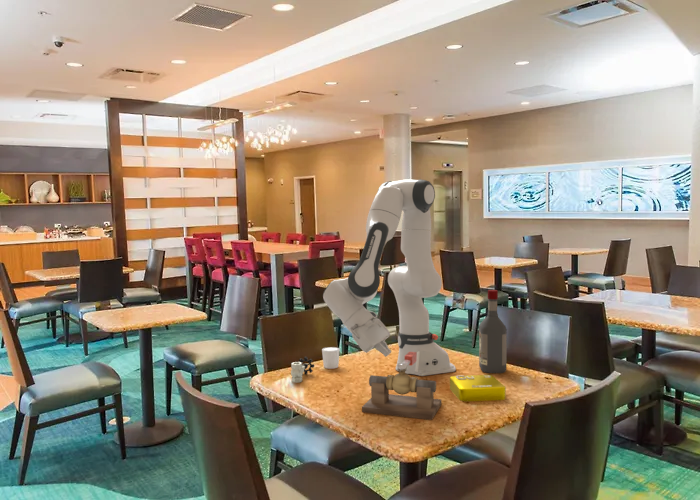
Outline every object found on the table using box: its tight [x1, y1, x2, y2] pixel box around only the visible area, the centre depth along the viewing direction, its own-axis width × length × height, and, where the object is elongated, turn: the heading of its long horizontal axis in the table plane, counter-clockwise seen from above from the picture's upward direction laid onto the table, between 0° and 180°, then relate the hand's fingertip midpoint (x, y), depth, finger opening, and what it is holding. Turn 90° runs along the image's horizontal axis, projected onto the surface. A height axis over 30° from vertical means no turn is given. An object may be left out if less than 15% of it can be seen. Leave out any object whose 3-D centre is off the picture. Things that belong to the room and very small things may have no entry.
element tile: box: [449, 374, 507, 403], centre depth 180 cm, size 15×15×5 cm
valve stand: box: [361, 371, 443, 421], centre depth 167 cm, size 14×21×11 cm, turn 70°
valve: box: [290, 356, 315, 384], centre depth 200 cm, size 7×7×12 cm
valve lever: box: [396, 352, 417, 372], centre depth 172 cm, size 15×3×3 cm, turn 160°
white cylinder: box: [321, 346, 341, 370], centre depth 215 cm, size 7×7×7 cm
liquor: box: [478, 289, 508, 374], centre depth 207 cm, size 9×9×30 cm
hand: (388, 354), depth 178 cm, fingers closed
